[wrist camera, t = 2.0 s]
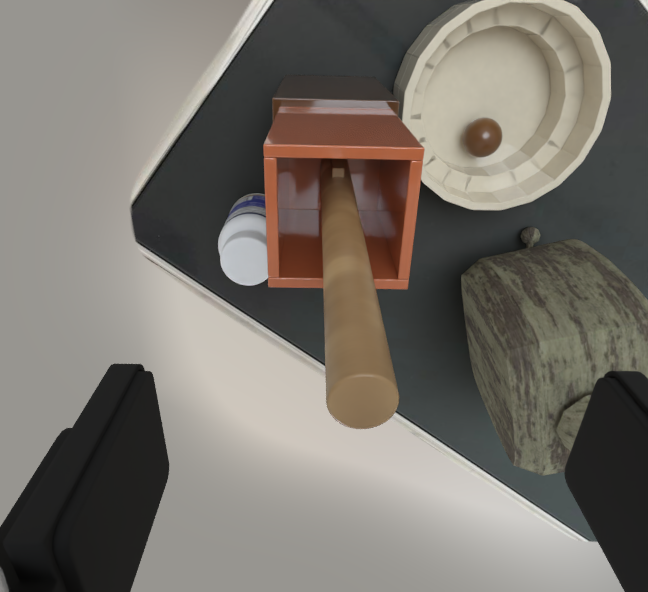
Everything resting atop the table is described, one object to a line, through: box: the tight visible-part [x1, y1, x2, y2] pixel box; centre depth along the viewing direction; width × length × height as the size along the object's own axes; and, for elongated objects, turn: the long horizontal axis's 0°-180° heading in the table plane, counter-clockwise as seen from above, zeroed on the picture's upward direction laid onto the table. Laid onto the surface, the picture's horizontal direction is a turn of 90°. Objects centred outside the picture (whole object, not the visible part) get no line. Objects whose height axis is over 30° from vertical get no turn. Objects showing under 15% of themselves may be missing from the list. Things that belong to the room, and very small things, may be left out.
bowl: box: [393, 0, 611, 210], centre depth 37 cm, size 14×14×6 cm
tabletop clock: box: [461, 227, 648, 475], centre depth 37 cm, size 14×9×25 cm, turn 14°
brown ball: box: [462, 117, 502, 157], centre depth 39 cm, size 3×3×3 cm
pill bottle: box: [218, 193, 268, 286], centre depth 40 cm, size 5×5×9 cm
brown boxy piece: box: [263, 75, 425, 289], centre depth 30 cm, size 7×7×23 cm
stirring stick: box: [320, 158, 399, 429], centre depth 19 cm, size 2×2×20 cm
